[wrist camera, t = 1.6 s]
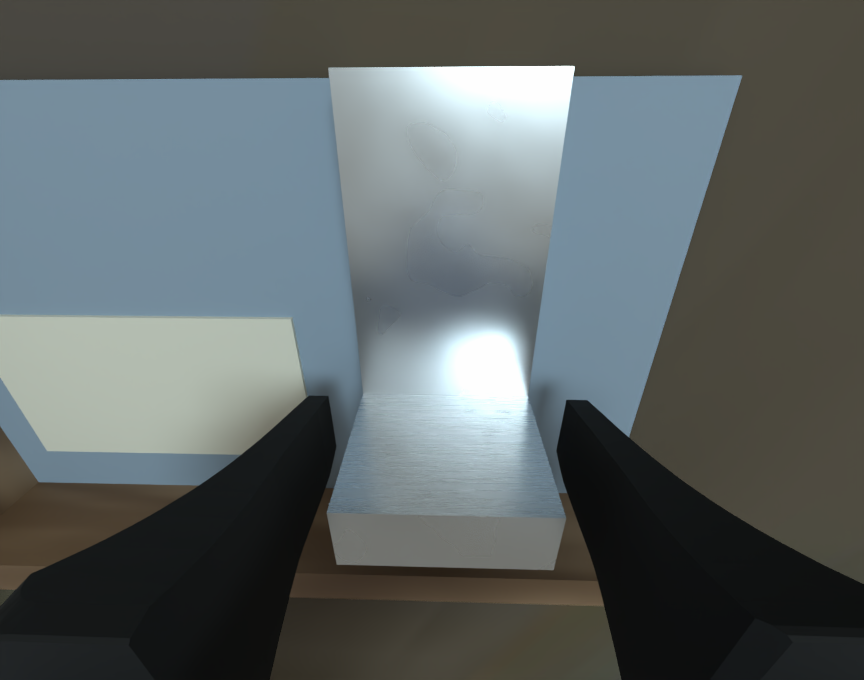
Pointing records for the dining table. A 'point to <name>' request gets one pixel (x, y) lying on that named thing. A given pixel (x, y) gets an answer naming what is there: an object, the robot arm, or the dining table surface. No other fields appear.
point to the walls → (317, 569)
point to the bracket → (447, 312)
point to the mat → (289, 264)
